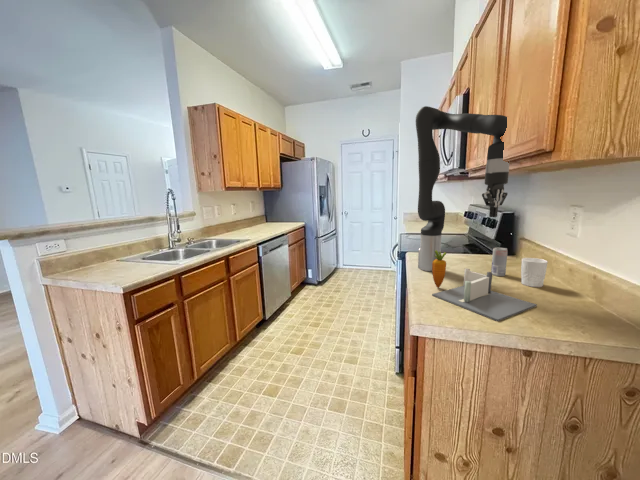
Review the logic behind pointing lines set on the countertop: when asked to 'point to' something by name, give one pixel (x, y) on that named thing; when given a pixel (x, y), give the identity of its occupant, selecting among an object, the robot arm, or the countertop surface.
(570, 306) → the countertop surface
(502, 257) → the energy drink
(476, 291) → the fence gate
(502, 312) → the card
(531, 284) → the white cup
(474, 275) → the bar
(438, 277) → the carrot
